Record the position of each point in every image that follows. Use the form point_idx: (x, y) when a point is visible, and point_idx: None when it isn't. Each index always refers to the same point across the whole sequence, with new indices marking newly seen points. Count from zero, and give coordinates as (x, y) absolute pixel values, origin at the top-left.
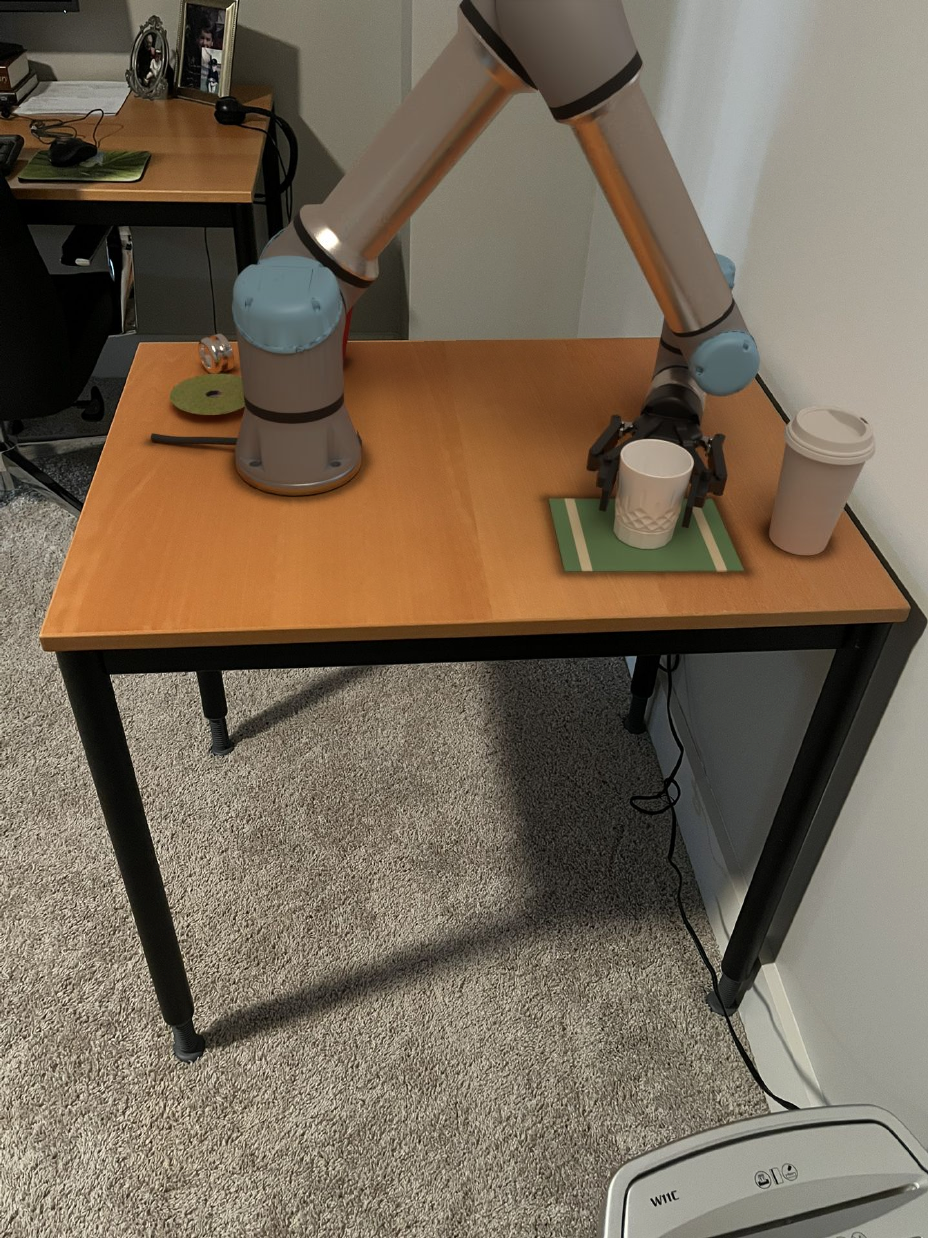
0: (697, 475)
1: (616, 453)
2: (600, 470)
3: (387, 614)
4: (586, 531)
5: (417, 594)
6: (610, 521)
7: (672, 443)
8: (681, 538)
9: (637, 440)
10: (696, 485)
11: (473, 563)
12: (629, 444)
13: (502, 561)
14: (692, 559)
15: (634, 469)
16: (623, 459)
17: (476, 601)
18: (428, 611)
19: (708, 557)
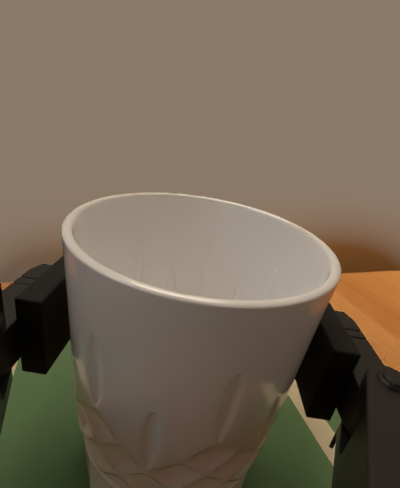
0: (25, 299)
1: (383, 411)
2: (359, 335)
3: (393, 275)
4: (296, 421)
5: (396, 291)
6: (259, 482)
7: (134, 281)
8: (62, 435)
9: (317, 293)
10: (57, 266)
11: (395, 329)
12: (331, 274)
13: (368, 335)
14: (64, 363)
15: (255, 209)
16: (300, 228)
17: (341, 286)
18: (368, 277)
19: (22, 372)
